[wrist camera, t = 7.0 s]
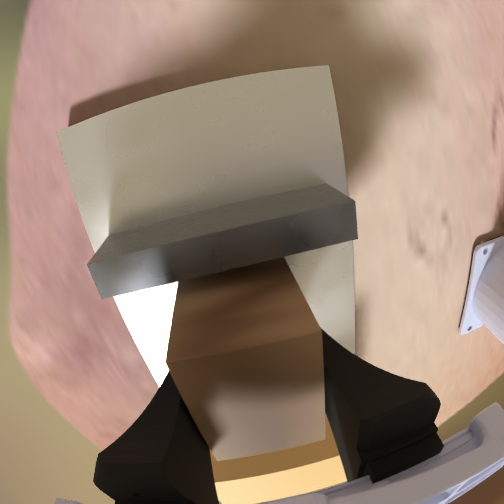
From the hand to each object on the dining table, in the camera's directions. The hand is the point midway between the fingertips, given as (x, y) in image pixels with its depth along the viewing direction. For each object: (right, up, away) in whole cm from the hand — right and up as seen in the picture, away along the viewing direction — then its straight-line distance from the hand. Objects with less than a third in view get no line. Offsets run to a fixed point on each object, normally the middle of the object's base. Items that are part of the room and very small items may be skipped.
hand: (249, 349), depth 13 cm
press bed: (0, +1, +4) cm, 4 cm away
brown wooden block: (0, +1, +2) cm, 2 cm away
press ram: (+2, -8, +6) cm, 10 cm away
